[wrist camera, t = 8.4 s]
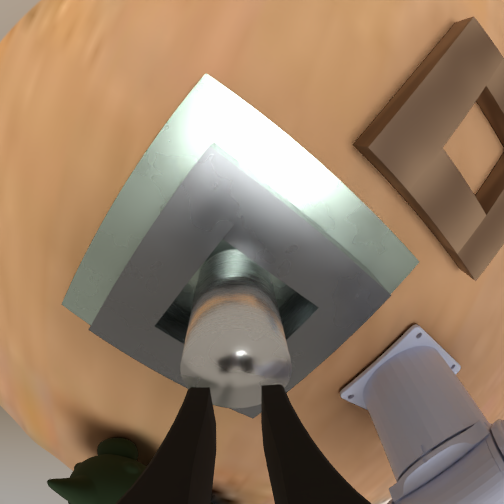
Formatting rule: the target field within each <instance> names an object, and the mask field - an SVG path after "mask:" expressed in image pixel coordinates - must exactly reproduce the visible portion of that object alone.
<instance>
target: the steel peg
mask: <svg viewBox="0 0 504 504" xmlns="http://www.w3.org/2000/svg"><path fill="white" fill-rule="evenodd" d="M180 372H181V377H182V379H183V382H184V383H185V385H186V387H187V388H188V389H190V388H191V387H210V392H211V398H212V404H213V405H216V406H220V407H226V408H247V407H252V406H256V405H259V404H261V386H262V385H276V384H281V385H282V386H284V388H285V387H286V385H287V384H288V382H289V380H290V377H291V373H292V364H291V359H290V355H289V351H288V346H287V342H286V338H285V334H284V330H283V325H282V321H281V317H280V313H279V309H278V304H277V300H276V296H275V292H274V288H273V284H272V280H271V276H270V273H269V272H268V271H267V270H265V269H264V268H262V267H261V266H260V265H258V264H257V263H255V262H254V261H253V260H251V259H250V258H248V257H247V256H246V255H244V254H243V253H241V252H240V251H239V250H233V249H232V250H226V251H222V252H219V253H217V254H215V255H213V256H212V257H210V258H209V259H208V260H207V261H206V262H205V263H204V265H203V266H202V268H201V270H200V273H199V277H198V281H197V286H196V290H195V295H194V300H193V304H192V309H191V314H190V319H189V324H188V329H187V334H186V339H185V344H184V349H183V354H182V359H181V365H180Z"/></svg>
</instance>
